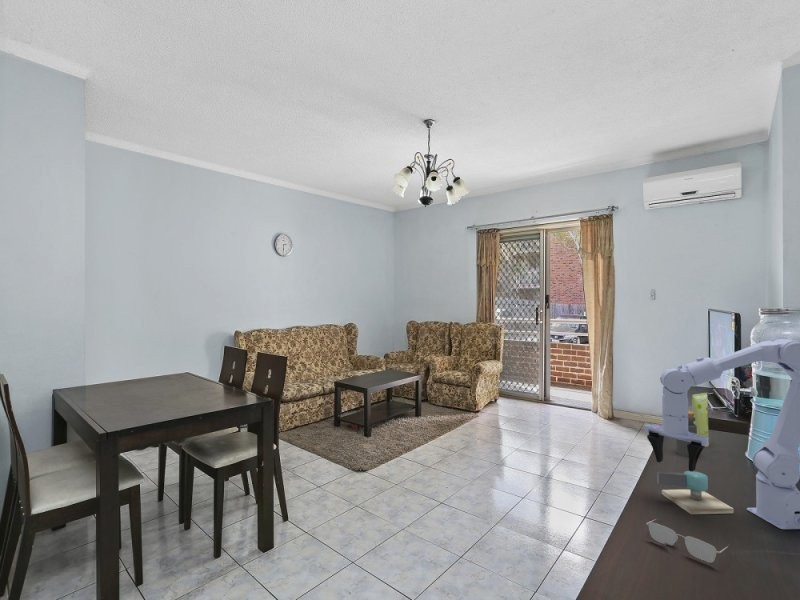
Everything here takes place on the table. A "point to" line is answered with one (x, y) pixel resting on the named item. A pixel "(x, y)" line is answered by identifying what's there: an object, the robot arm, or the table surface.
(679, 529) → the table surface
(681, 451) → the bottle
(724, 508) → the post block
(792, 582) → the table surface
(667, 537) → the eyeglasses
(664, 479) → the teal grey handled piece
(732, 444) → the table surface
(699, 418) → the tube
